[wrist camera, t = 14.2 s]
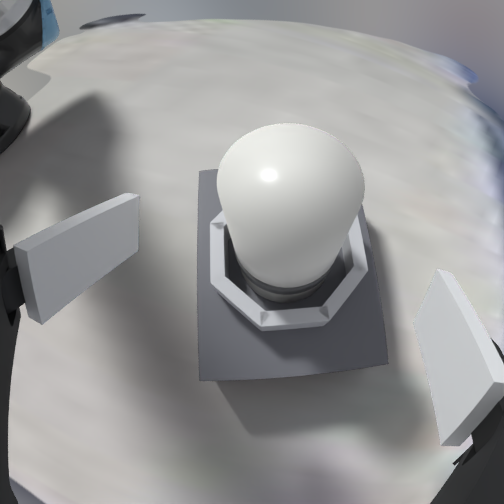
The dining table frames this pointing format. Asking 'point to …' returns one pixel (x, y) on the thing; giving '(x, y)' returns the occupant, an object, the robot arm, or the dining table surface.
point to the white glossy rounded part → (288, 206)
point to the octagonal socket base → (283, 309)
